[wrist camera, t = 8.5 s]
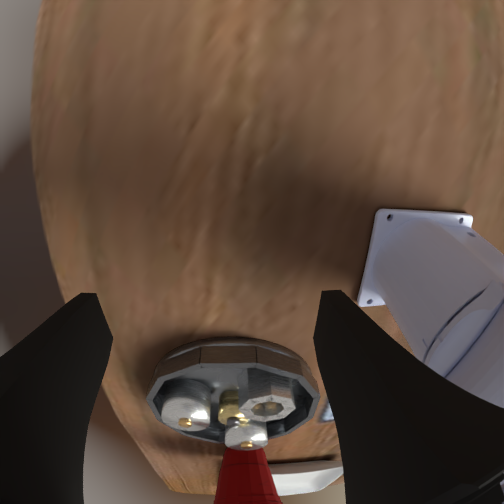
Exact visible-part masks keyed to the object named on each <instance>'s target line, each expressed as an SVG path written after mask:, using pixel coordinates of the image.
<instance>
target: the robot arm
mask: <svg viewBox="0 0 504 504" xmlns="http://www.w3.org/2000/svg"><path fill="white" fill-rule="evenodd" d="M389 214H391V217H390V218H389V219H387V216H388V215H389ZM460 218H461V219H460ZM459 220H460V221H459ZM472 222H473V217H472V216H471V215H470V214H466V213H453V212H438V211H422V210H403V209H380V210H378V211H377V213H376V215H375V220H374V226H373V231H372V236H371V241H370V246H369V251H368V256H367V261H366V265H365V269H364V274H363V278H362V282H361V286H360V290H359V294H358V298H357V303H358V305H359V306H360V307H366V306H377V305H386V306H387V307H388V309H389V311H390V312H391V314H392V316H393V317H394V319H395V321H396V323H397V324H398V326H399V328H400V330H401V331H402V333H403V335H404V337H405V338H406V340H407V342H408V344H409V346H410V347H411V349H412V351H413V353H414V355H415V356H416V357H414V356H413V355H412V354H411V353H409V352H408V351H407V350H406V349H405V348H403V347H402V346H401V345H400V344H399V343H397V342H396V341H395V340H394V339H393V338H392V337H390V336H389V335H388V334H387V333H386V332H385V331H384V330H383V329H382V328H380V327H379V326H378V325H377V324H376V323H375V322H374V321H373V320H372V319H371V318H370V317H369V316H368V315H367V314H366V313H365V312H363V311H362V310H361V309H360V308H359V307H358V306H357V305H356V304H355V303H354V302H353V301H352V300H351V299H350V298H349V297H348V296H347V295H346V294H345V293H344V292H342V291H341V290H329V291H322V293H321V299H320V305H319V310H318V316H317V321H316V326H315V331H314V336H313V339H314V345H315V351H316V357H317V362H318V367H319V370H320V373H321V377H322V380H323V383H324V387H325V390H326V393H327V397H328V400H329V403H330V406H331V410H332V413H333V417H334V420H335V424H336V428H337V432H338V438H339V444H340V450H341V457H342V465H343V473H344V482H345V495H346V504H504V254H502V253H501V252H500V251H499V250H498V249H496V248H495V247H494V246H493V245H492V244H490V243H489V242H488V241H487V240H486V239H484V238H483V237H482V236H480V235H479V234H478V233H477V232H475V231H474V230H473V229H471V225H472ZM369 299H370V300H369ZM368 300H369V301H368ZM112 341H113V336H112V334H111V331H110V329H109V326H108V324H107V321H106V319H105V316H104V314H103V311H102V308H101V306H100V303H99V300H98V297H97V294H96V293H80V294H79V295H77V296H76V297H74V298H73V299H72V300H70V301H69V302H68V303H66V304H65V305H64V306H63V307H62V308H60V309H59V310H58V311H57V312H55V313H54V314H53V315H52V316H51V317H49V318H48V319H47V320H46V321H45V322H44V323H42V324H41V325H40V326H39V327H38V328H36V329H35V330H34V331H33V332H31V333H30V334H29V335H28V336H27V337H25V338H24V339H23V340H22V341H20V342H19V343H18V344H17V345H15V346H14V347H13V348H12V349H10V350H9V351H8V352H6V353H5V354H4V355H2V356H1V357H0V504H84V500H83V463H84V451H85V443H86V436H87V429H88V424H89V420H90V416H91V413H92V410H93V406H94V403H95V400H96V397H97V394H98V391H99V388H100V385H101V382H102V379H103V376H104V373H105V370H106V367H107V364H108V360H109V356H110V351H111V346H112Z"/></svg>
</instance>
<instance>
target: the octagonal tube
mask: <svg viewBox="0 0 504 504" xmlns="http://www.w3.org/2000/svg"><path fill="white" fill-rule="evenodd" d="M238 403H239V411H240V412H241V413H242V414H243V416H244V417H245V418H246V419H251V420H257V421H262V422H266V421H271V420H276V419H281V418H285V417H286V416H287V415H288V414H290V413H291V412H292V411H293V410H294V409H296V407H295V401H294V395H293V389H292V383H291V378H290V377H286V376H282V375H279V374H275V373H272V372H268V371H265V370H261V369H258V368H246V369H245V370H244V371H243V372H242V374H241V375H240V376H239V377H238Z"/></svg>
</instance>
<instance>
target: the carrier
mask: <svg viewBox="0 0 504 504" xmlns="http://www.w3.org/2000/svg"><path fill="white" fill-rule="evenodd" d="M246 368H258V369H261V370H265V371H268V372H272V373H275V374H279V375H282V376H286V377H290V378H291V383H292V389H293V395H294V401H295V407H296V409H294V410H293V411H292V412H291V413H290V414H288V415H287V416H286V417H285V418H281V419H276V420H271V421H266V422H262V421H257V420H251V419H246V418H245V417H244V416H243V414H242V413H241V412H240V411H239V403H238V377H239V376H240V375H241V374H242V372H243V371H244V370H245V369H246ZM319 399H320V393H319V389H318V385H317V381H316V380H315V379H314V377H313V376H312V373H311V370H310V368H309V366H308V364H307V363H306V362H305V361H304V360H303V358H302V357H300V356H299V355H298V354H296V353H295V352H293V351H291V350H289V349H288V348H286V347H283V346H281V345H278V344H275V343H272V342H268V341H264V340H259V339H253V338H244V337H219V338H210V339H203V340H199V341H194V342H191V343H188V344H185V345H182V346H180V347H178V348H176V349H174V350H172V351H171V352H169V353H168V354H166V355H165V356H164V357H163V358H162V359H161V360H160V361H159V363H158V364H157V366H156V368H155V371H154V375H153V378H152V380H151V381H150V383H149V387H148V391H147V396H146V400H147V402H148V404H149V406H150V408H151V410H152V411H153V413H154V415H155V417H156V419H157V420H158V421H160V422H162V423H163V424H165V425H167V426H168V427H170V428H172V429H173V430H175V431H177V432H179V433H180V434H182V435H184V436H188V437H192V438H196V439H200V440H204V441H209V442H214V443H220V444H225V445H226V446H227V447H229V448H231V449H235V450H255V449H260V448H262V447H264V446H266V445H267V444H268V440H269V439H273V438H276V437H280V436H283V435H287V434H289V433H291V432H292V431H294V430H296V429H297V428H299V427H300V426H302V425H303V424H304V423H306V422H307V421H309V420H310V419H312V418H313V416H314V413H315V411H316V408H317V405H318V402H319Z"/></svg>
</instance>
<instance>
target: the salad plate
mask: <svg viewBox="0 0 504 504" xmlns="http://www.w3.org/2000/svg"><path fill="white" fill-rule="evenodd" d="M268 467H269V468H270V471H271V474H272V477H273V481H274V484H275V487H276V490H277V493H278V496H281V495H291V494H301V493H309V492H314V491H320V490H322V489H323V488H325V487H326V486H328V485H329V484H330V483H332V482H333V481H334V480H336V479H337V478H338V477H340V476H341V475H342V474H343V465H342V461H336V460H332V461H327V460H318V461H309V462H298V463H286V464H268Z"/></svg>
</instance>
